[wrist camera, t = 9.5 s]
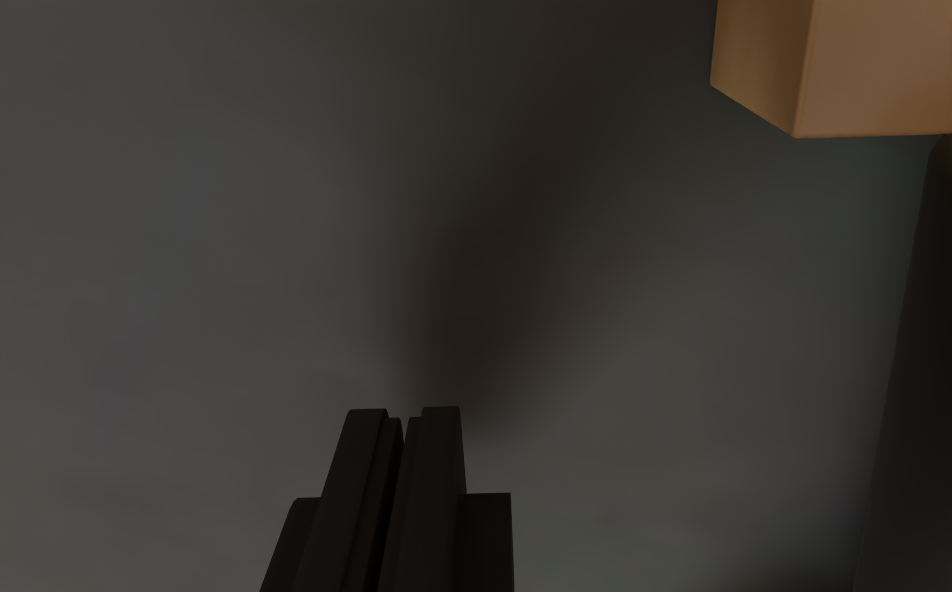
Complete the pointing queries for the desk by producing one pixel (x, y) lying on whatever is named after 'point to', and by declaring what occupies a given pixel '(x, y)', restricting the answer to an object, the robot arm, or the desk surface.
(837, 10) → the oak bay
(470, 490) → the desk surface
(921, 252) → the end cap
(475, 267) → the desk surface
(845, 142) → the desk surface
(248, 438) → the desk surface
